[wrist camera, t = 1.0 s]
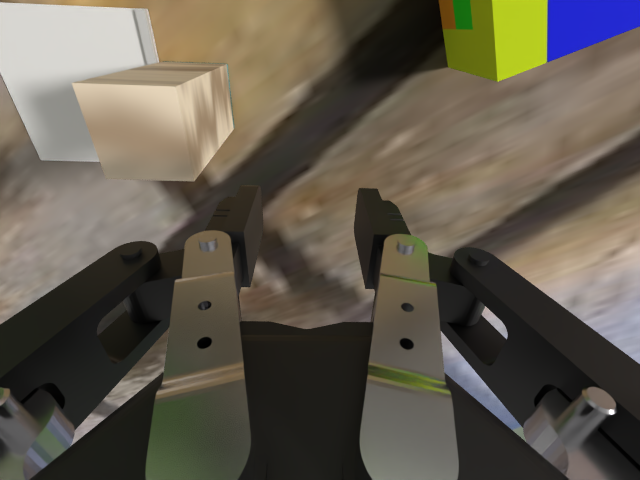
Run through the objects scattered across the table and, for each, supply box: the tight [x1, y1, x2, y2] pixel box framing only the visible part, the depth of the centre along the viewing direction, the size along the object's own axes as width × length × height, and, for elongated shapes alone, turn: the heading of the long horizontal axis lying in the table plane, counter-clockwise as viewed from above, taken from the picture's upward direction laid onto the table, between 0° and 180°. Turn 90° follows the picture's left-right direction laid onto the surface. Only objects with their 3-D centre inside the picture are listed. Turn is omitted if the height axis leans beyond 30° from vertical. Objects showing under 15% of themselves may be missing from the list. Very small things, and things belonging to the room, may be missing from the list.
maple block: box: [72, 61, 234, 181], centre depth 26 cm, size 6×6×14 cm
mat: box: [0, 3, 159, 162], centre depth 31 cm, size 14×15×1 cm
